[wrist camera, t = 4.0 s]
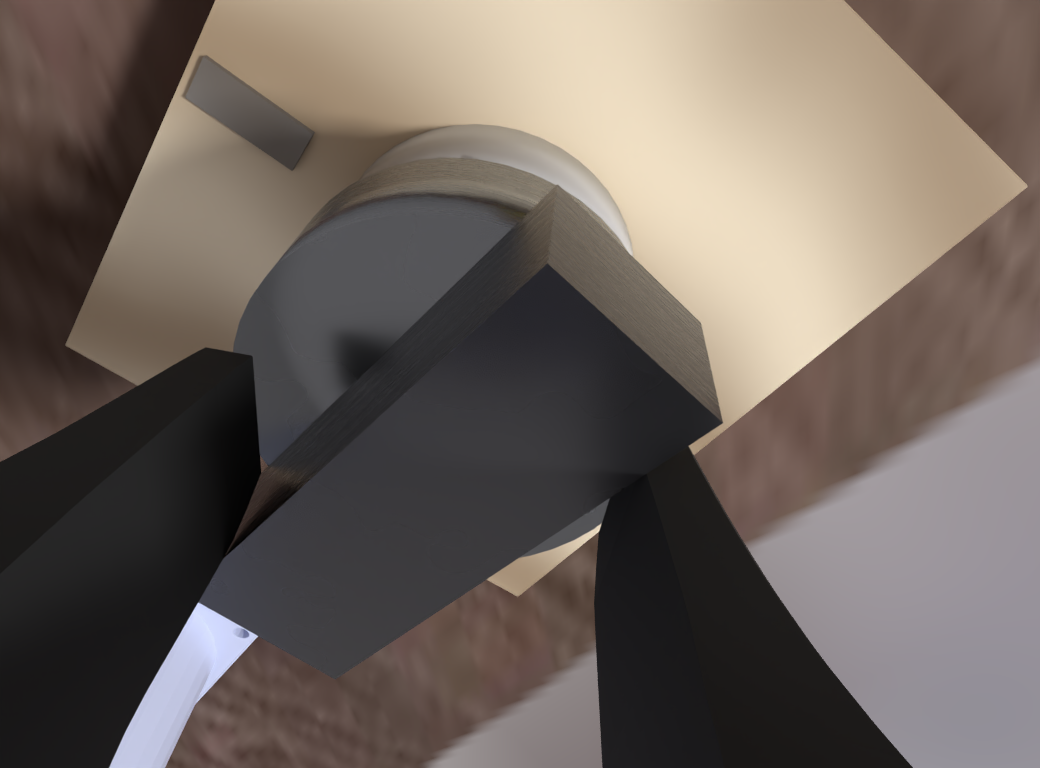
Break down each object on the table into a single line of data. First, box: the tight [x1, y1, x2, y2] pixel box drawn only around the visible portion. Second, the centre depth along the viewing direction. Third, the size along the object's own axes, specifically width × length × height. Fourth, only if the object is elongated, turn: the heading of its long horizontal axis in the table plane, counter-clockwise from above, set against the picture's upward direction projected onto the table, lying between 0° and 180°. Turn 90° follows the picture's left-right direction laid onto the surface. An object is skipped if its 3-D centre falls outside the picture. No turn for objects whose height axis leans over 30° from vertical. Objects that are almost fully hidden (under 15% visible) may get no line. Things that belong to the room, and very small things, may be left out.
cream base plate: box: [65, 0, 1028, 596], centre depth 14 cm, size 14×12×4 cm
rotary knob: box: [198, 158, 723, 679], centre depth 11 cm, size 6×8×4 cm
